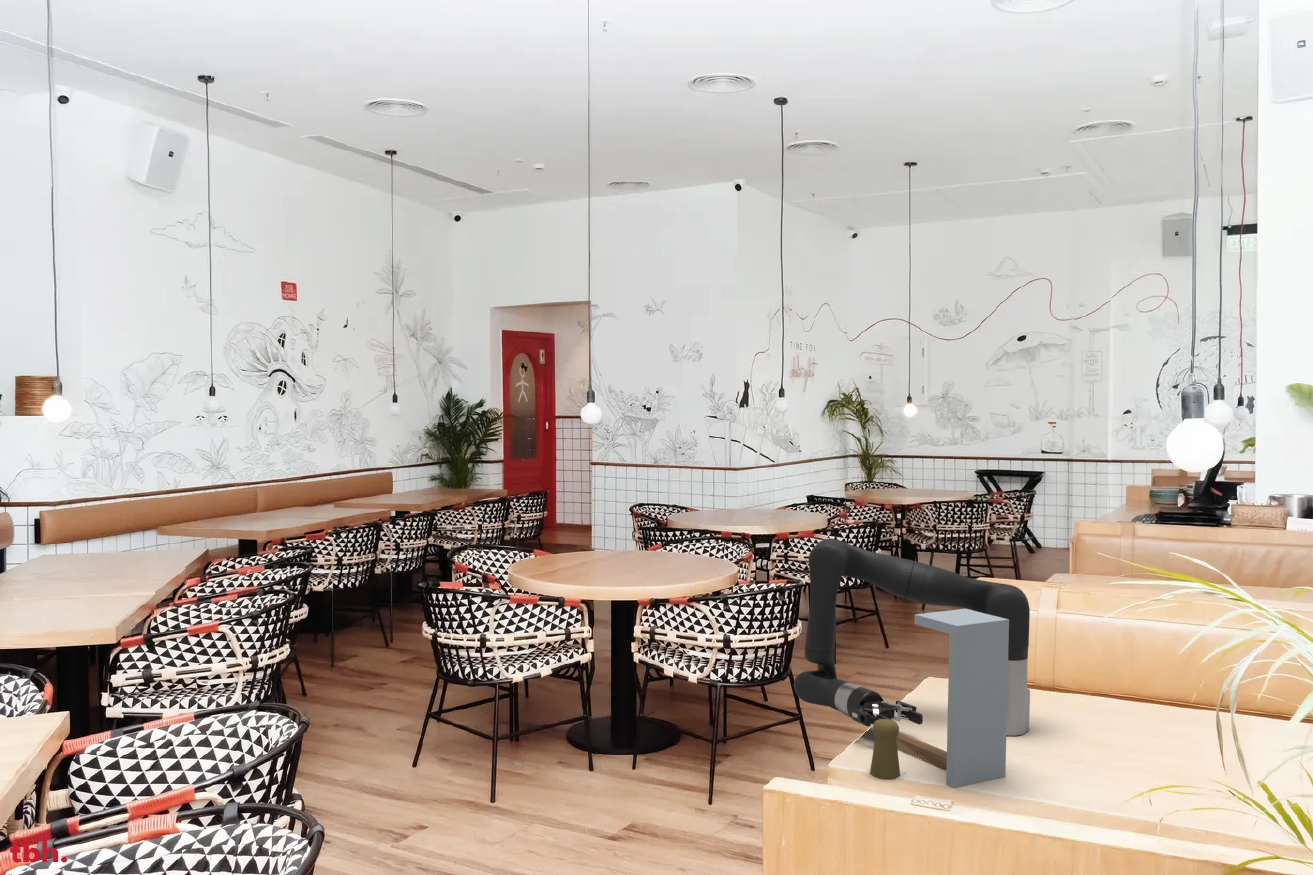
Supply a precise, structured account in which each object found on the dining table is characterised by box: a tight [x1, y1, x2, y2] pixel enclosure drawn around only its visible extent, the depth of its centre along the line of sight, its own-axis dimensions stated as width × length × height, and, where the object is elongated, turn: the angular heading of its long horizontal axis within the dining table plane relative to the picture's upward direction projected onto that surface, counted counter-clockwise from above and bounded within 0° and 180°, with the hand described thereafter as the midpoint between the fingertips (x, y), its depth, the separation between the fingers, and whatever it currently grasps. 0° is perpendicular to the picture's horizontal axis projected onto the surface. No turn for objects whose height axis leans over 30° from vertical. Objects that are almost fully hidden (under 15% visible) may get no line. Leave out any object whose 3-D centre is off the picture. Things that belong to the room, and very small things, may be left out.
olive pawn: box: [869, 719, 901, 780], centre depth 212 cm, size 6×6×11 cm
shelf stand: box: [914, 608, 1009, 789], centre depth 213 cm, size 14×12×32 cm
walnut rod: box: [896, 731, 947, 772], centre depth 224 cm, size 3×22×3 cm, turn 29°
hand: (906, 722), depth 227 cm, fingers open, 8 cm apart
